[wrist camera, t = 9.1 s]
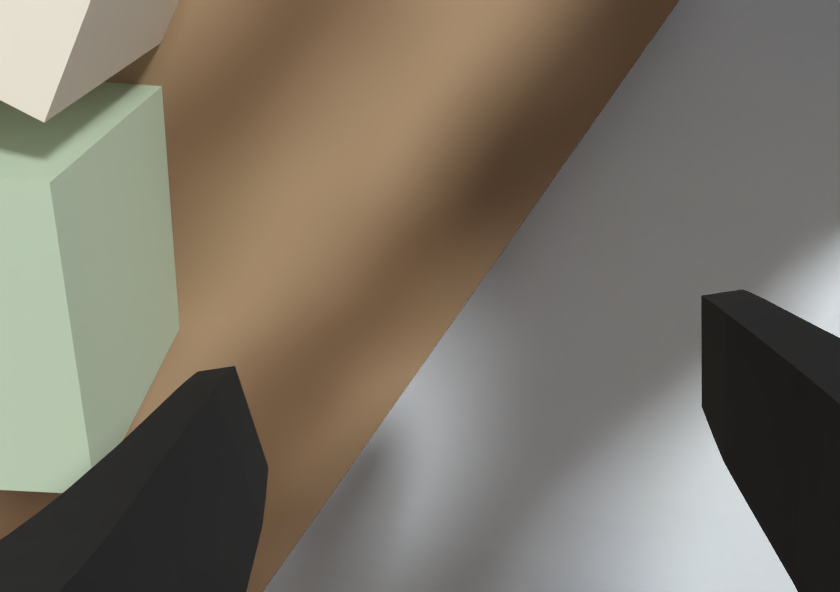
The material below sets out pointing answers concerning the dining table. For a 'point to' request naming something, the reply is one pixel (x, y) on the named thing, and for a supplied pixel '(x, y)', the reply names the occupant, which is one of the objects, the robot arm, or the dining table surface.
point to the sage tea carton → (81, 280)
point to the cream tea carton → (71, 47)
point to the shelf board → (353, 199)
